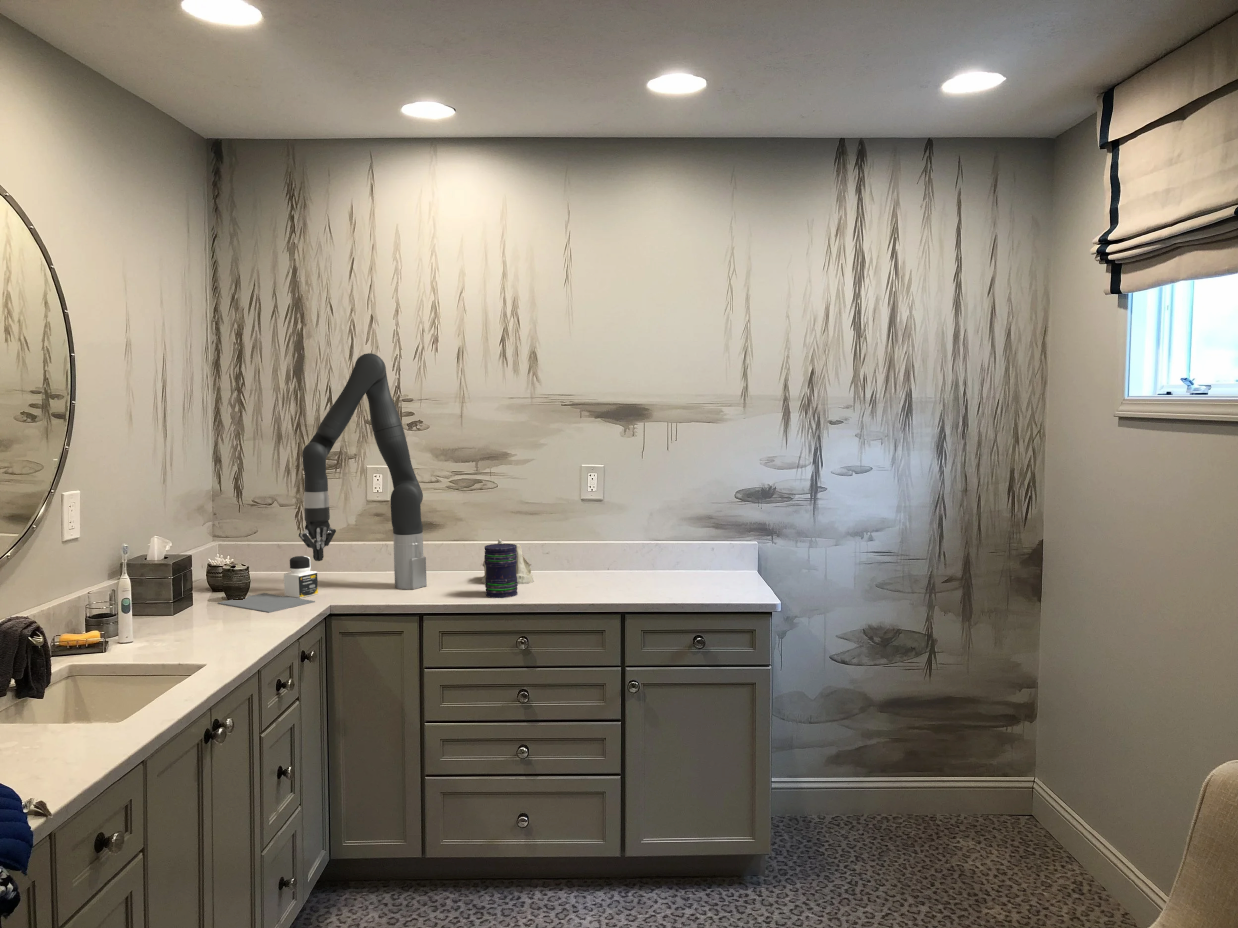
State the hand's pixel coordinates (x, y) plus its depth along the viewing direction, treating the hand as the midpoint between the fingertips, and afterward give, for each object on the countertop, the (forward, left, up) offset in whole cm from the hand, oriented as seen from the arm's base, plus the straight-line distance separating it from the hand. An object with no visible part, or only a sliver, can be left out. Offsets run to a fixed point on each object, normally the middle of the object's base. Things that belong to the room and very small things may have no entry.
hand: (318, 560), depth 296 cm
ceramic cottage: (-41, -42, -10) cm, 60 cm away
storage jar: (-54, -24, -10) cm, 60 cm away
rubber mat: (0, +20, -10) cm, 22 cm away
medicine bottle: (0, +7, -10) cm, 12 cm away
